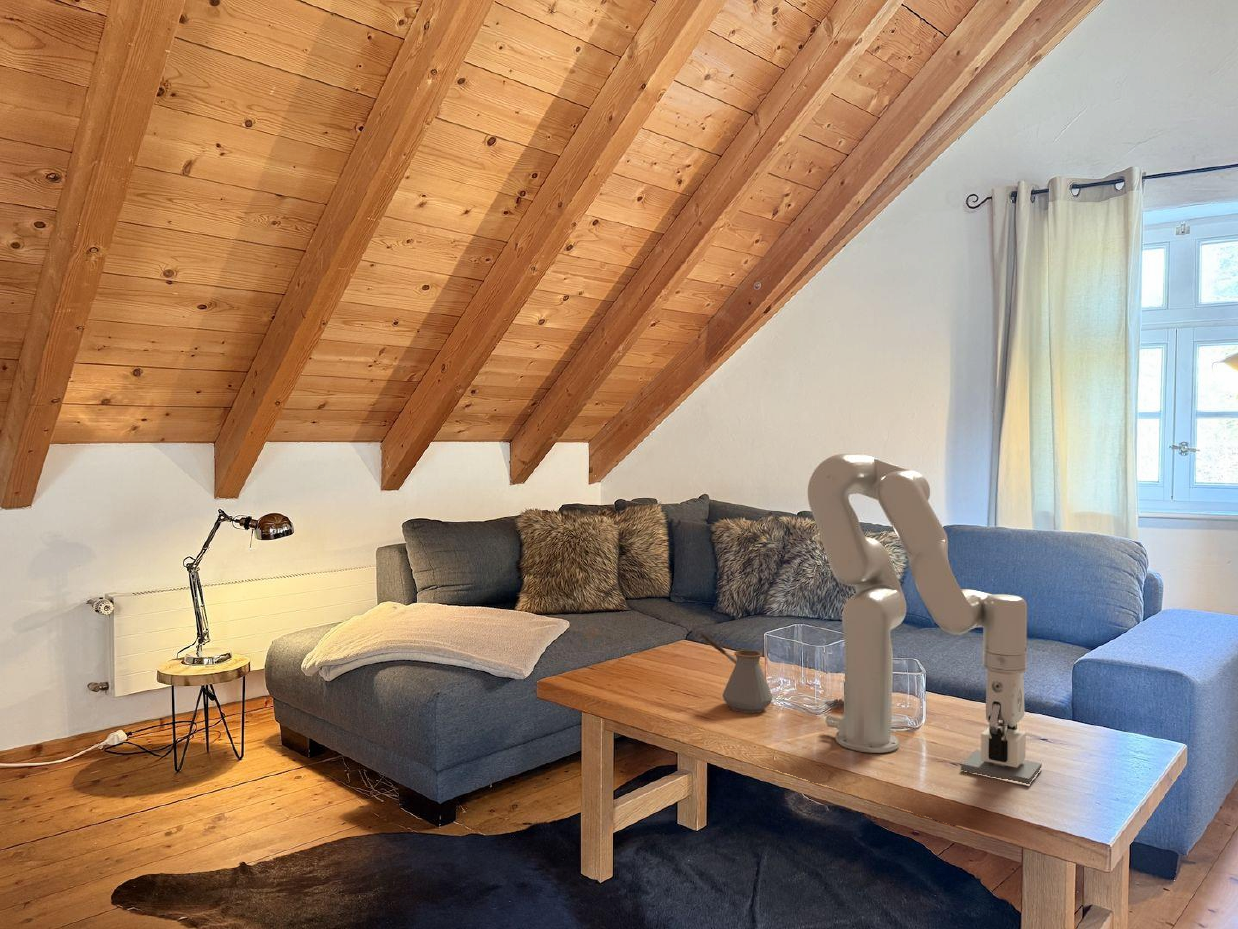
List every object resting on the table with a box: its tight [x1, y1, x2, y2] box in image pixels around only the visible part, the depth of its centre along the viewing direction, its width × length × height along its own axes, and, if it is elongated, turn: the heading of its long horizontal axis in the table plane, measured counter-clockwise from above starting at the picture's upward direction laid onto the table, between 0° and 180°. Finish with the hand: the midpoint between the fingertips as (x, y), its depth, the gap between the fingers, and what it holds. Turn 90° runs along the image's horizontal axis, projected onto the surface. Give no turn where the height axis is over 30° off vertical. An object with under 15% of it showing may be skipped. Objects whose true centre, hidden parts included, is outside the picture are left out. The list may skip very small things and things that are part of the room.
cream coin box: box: [980, 726, 1027, 768], centre depth 170 cm, size 6×6×5 cm
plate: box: [960, 749, 1043, 784], centre depth 170 cm, size 12×10×2 cm
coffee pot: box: [697, 632, 773, 714], centre depth 212 cm, size 21×12×15 cm, turn 41°
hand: (1002, 754), depth 170 cm, fingers closed on cream coin box, 6 cm apart
